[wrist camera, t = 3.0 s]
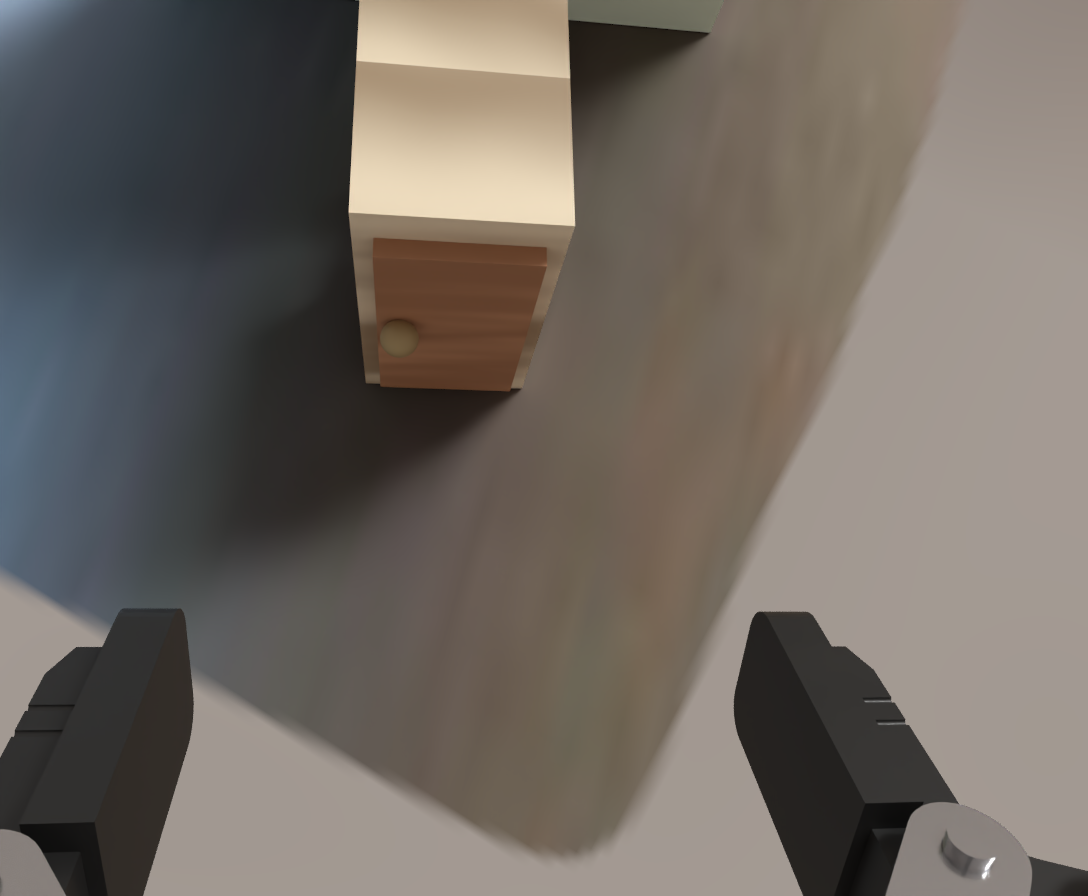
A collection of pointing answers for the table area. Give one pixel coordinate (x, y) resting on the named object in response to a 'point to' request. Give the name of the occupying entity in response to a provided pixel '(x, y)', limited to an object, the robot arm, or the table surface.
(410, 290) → the wall cabinet
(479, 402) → the table surface
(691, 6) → the wall board
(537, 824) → the table surface
